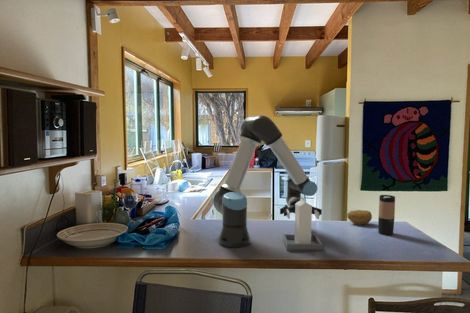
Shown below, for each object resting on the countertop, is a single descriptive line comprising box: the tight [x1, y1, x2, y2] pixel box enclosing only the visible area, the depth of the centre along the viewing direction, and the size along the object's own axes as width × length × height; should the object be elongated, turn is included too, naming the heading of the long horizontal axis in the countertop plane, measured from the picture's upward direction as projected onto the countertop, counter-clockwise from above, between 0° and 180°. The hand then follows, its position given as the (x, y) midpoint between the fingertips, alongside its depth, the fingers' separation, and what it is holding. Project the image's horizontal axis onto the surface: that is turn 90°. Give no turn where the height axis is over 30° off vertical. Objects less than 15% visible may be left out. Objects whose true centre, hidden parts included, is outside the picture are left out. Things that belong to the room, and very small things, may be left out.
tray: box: [282, 233, 324, 252], centre depth 152 cm, size 16×14×3 cm
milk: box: [294, 196, 313, 244], centre depth 151 cm, size 6×6×22 cm
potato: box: [346, 209, 373, 225], centre depth 188 cm, size 10×14×8 cm
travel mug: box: [377, 194, 396, 236], centre depth 170 cm, size 8×8×20 cm
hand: (303, 215), depth 149 cm, fingers open, 13 cm apart
